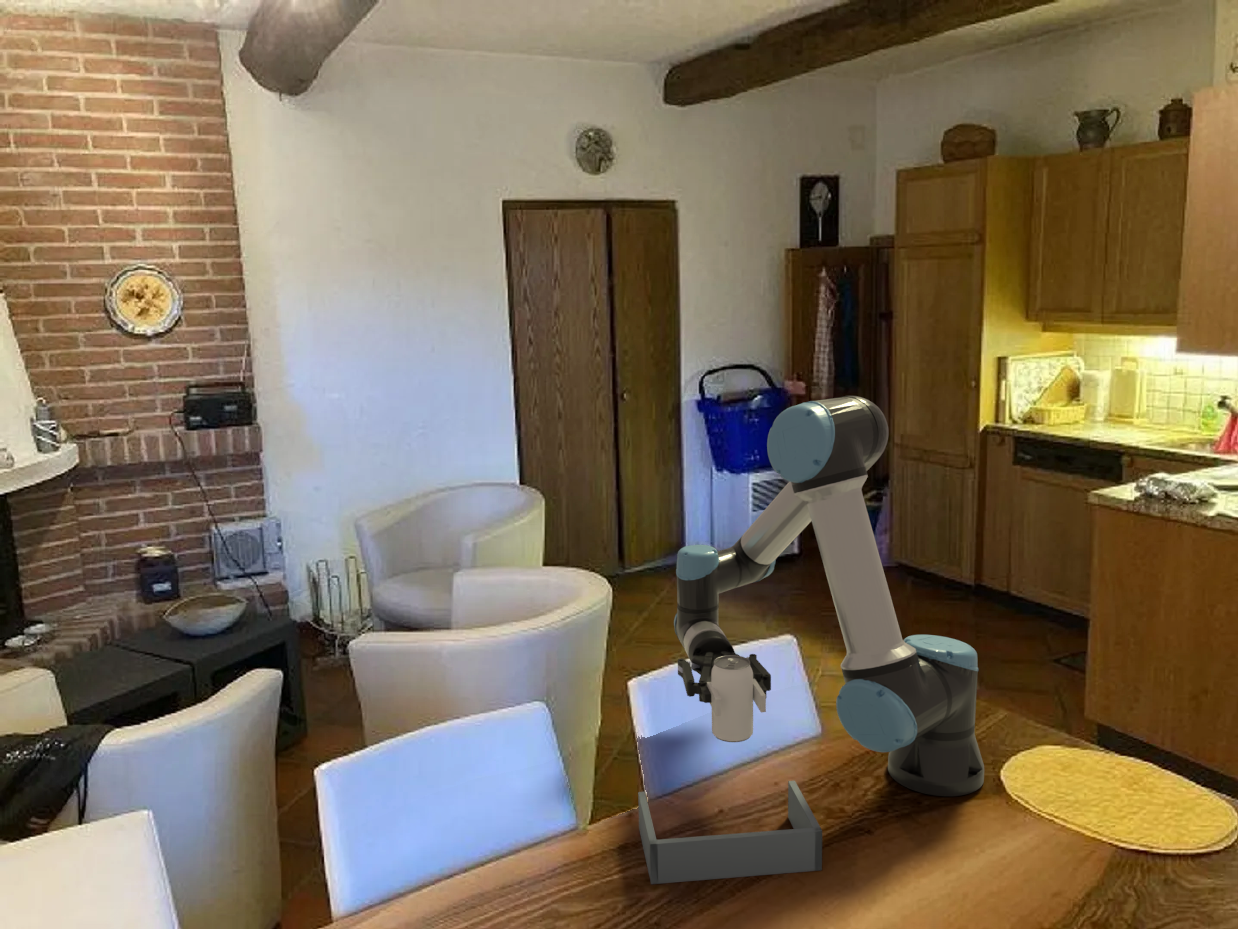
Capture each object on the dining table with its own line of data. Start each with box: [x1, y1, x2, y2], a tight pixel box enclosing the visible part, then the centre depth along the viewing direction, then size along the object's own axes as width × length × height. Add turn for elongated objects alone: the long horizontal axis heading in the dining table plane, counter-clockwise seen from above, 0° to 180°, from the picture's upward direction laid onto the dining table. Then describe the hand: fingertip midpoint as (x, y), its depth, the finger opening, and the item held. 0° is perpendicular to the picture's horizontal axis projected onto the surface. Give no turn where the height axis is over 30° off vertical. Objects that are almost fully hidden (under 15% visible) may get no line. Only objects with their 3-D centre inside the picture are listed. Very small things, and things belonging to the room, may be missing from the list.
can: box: [711, 655, 754, 743], centre depth 153 cm, size 6×6×12 cm
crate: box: [637, 780, 823, 885], centre depth 142 cm, size 14×24×6 cm, turn 96°
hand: (740, 705), depth 148 cm, fingers closed on can, 6 cm apart
